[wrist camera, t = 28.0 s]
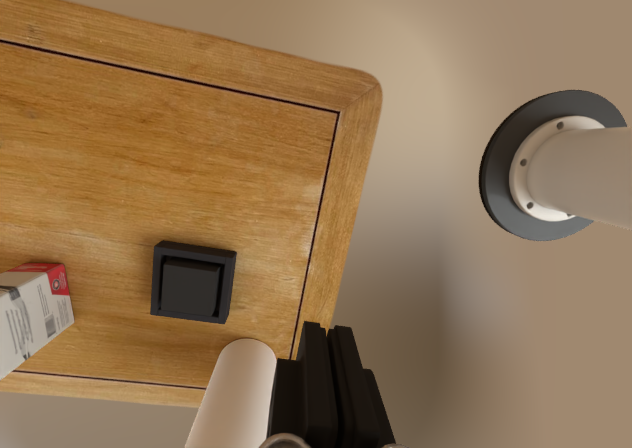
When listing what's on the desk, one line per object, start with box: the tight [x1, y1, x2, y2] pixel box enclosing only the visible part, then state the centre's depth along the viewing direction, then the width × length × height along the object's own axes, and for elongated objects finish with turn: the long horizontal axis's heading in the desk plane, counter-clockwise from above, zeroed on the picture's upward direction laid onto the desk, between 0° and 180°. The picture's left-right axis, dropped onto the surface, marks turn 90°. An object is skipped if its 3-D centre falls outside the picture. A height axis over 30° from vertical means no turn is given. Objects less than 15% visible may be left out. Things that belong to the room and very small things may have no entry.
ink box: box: [0, 263, 74, 380], centre depth 32 cm, size 8×5×12 cm, turn 177°
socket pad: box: [150, 240, 237, 324], centre depth 37 cm, size 9×9×2 cm
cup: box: [184, 339, 276, 448], centre depth 34 cm, size 8×8×16 cm
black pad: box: [161, 256, 222, 316], centre depth 36 cm, size 6×6×3 cm
